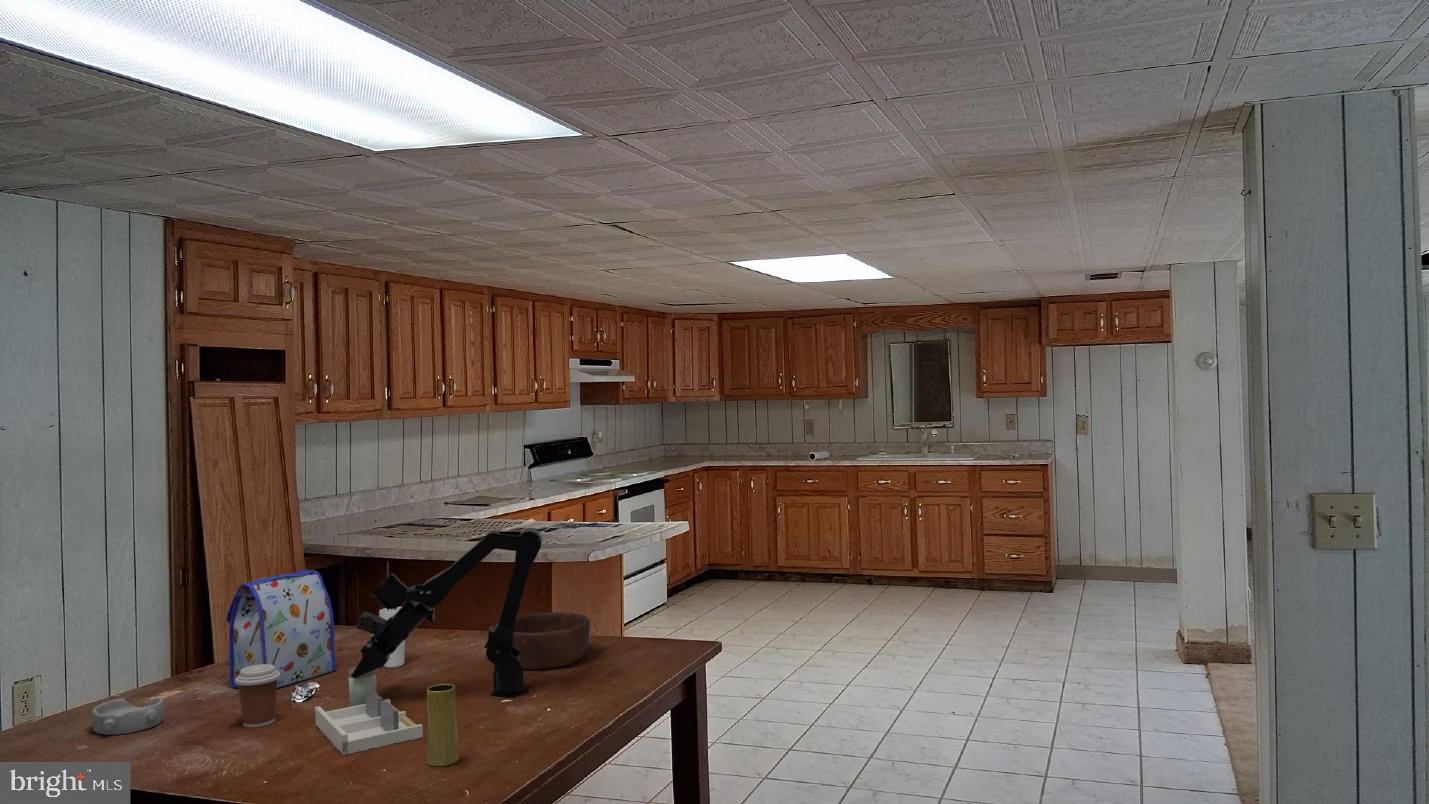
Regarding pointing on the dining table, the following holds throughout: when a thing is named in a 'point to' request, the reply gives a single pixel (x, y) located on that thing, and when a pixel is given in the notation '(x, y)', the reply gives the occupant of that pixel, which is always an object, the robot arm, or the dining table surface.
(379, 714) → the plate
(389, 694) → the dining table surface
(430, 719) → the vase
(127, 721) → the dish
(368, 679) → the sage jar
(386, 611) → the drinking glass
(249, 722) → the coffee cup
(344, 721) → the white divided tray
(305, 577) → the lunch bag
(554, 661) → the wooden bowl
